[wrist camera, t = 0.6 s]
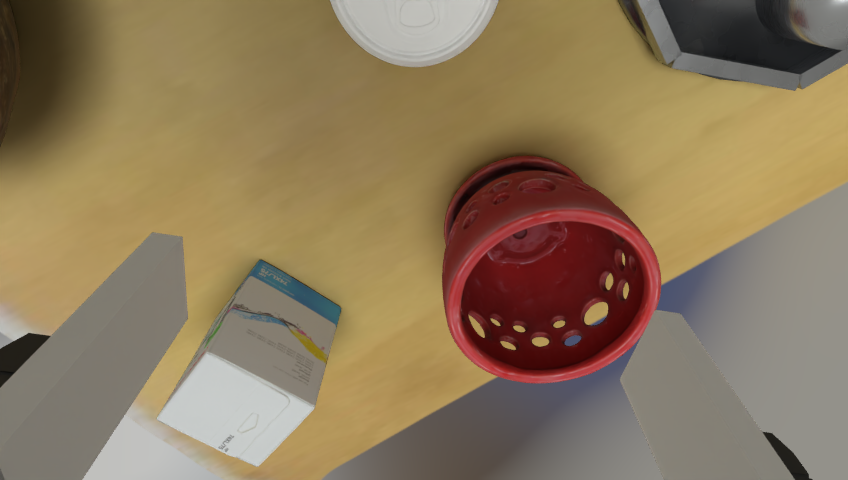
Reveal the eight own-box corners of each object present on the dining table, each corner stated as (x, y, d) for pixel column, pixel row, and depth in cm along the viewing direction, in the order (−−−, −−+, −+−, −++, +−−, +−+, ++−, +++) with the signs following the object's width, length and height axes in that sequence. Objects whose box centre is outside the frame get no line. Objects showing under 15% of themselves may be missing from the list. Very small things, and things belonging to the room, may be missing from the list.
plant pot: (483, 308, 45) (500, 414, 35) (409, 188, 40) (403, 272, 29) (626, 246, 42) (692, 343, 31) (568, 107, 36) (624, 167, 26)
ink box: (259, 256, 43) (206, 350, 32) (344, 307, 45) (319, 409, 35) (212, 319, 46) (151, 422, 36) (293, 364, 48) (257, 472, 38)
